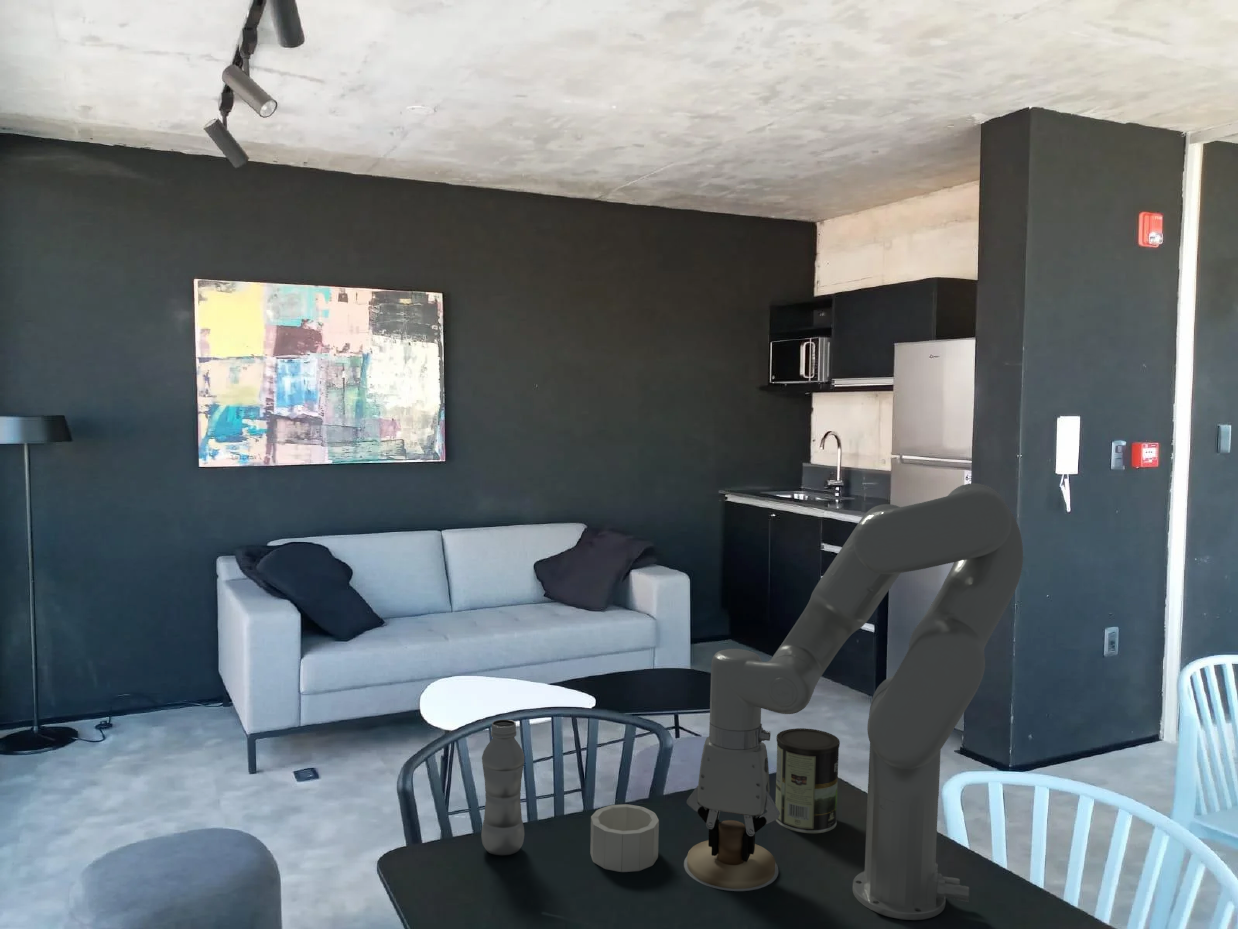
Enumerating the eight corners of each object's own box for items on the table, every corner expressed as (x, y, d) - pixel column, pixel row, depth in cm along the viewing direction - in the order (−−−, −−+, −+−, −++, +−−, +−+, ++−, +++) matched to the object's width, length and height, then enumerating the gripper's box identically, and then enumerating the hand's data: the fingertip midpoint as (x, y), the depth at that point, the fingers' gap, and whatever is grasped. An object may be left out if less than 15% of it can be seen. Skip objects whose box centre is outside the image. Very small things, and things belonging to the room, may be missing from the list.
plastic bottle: (503, 865, 142) (505, 734, 141) (471, 852, 146) (473, 724, 145) (533, 849, 147) (534, 722, 146) (501, 837, 151) (502, 713, 150)
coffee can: (829, 808, 164) (832, 728, 163) (842, 836, 154) (846, 750, 153) (769, 807, 165) (772, 726, 164) (778, 834, 154) (781, 749, 153)
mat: (785, 855, 147) (785, 854, 147) (769, 900, 134) (769, 898, 134) (697, 840, 152) (697, 838, 152) (672, 882, 138) (672, 880, 138)
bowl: (664, 848, 149) (665, 810, 148) (645, 878, 139) (646, 838, 139) (604, 837, 152) (605, 800, 151) (581, 866, 142) (582, 827, 142)
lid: (781, 854, 147) (783, 815, 146) (766, 896, 134) (767, 853, 134) (699, 840, 151) (700, 802, 150) (677, 879, 139) (678, 837, 138)
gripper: (795, 734, 142) (791, 853, 143) (686, 719, 147) (683, 834, 149) (787, 751, 135) (783, 877, 136) (673, 735, 140) (670, 856, 142)
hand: (731, 853), depth 142 cm, fingers closed on lid, 4 cm apart
